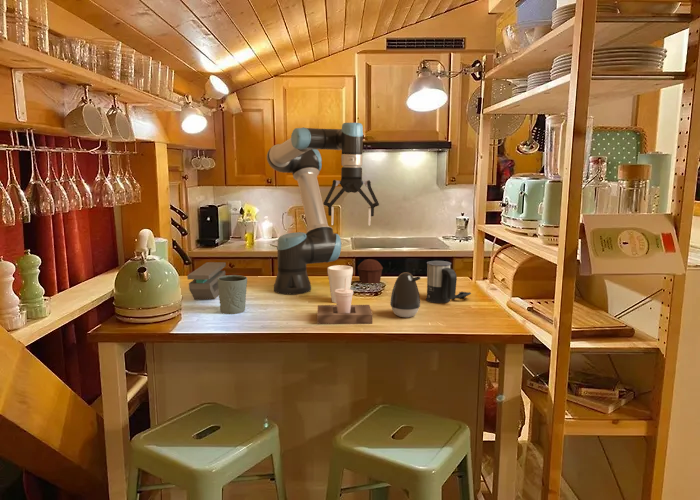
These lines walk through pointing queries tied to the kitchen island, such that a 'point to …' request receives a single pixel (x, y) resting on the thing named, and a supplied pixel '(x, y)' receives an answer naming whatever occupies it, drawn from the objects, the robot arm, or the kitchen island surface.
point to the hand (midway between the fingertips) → (350, 225)
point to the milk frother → (441, 282)
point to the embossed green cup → (232, 293)
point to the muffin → (370, 271)
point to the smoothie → (343, 299)
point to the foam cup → (339, 278)
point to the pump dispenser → (405, 296)
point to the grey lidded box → (206, 280)
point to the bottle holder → (344, 315)
